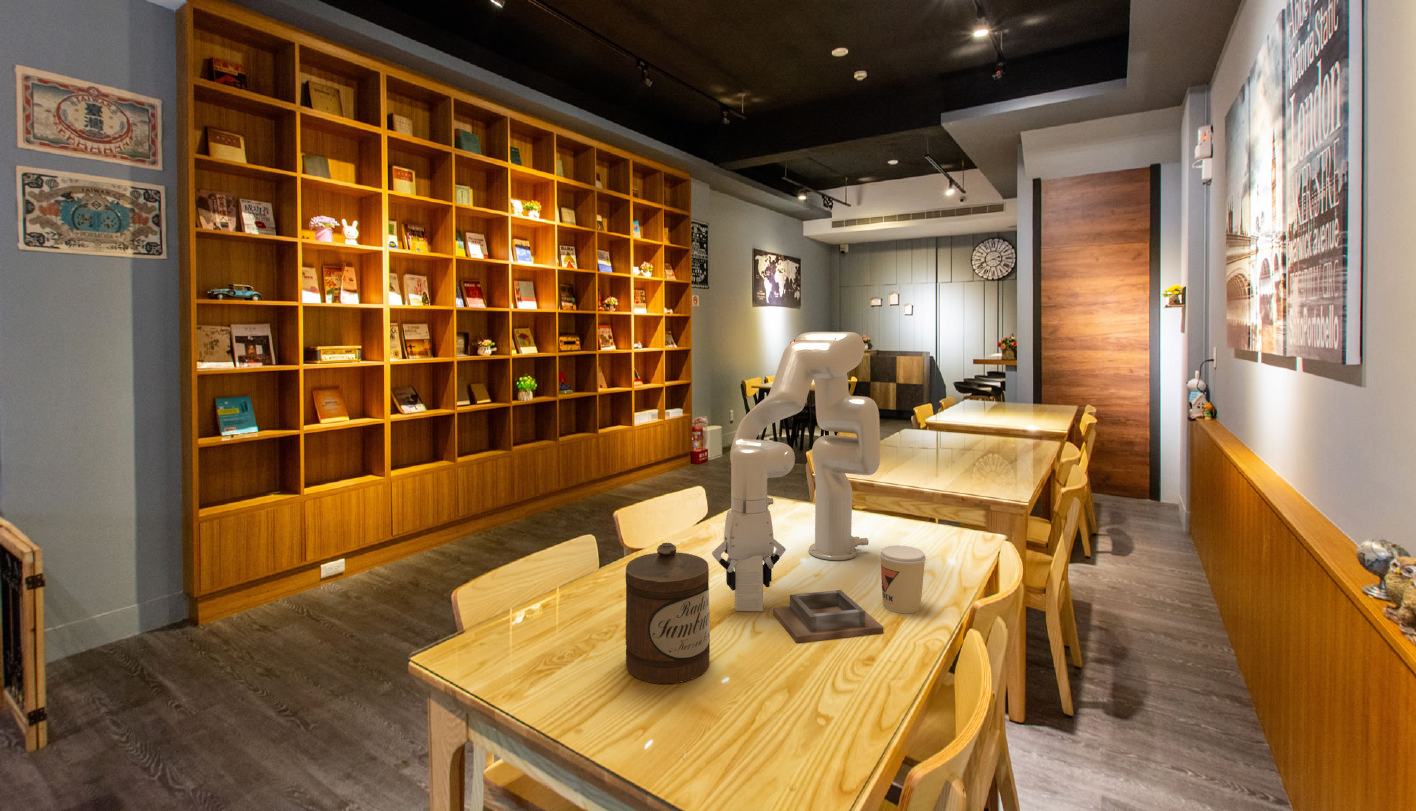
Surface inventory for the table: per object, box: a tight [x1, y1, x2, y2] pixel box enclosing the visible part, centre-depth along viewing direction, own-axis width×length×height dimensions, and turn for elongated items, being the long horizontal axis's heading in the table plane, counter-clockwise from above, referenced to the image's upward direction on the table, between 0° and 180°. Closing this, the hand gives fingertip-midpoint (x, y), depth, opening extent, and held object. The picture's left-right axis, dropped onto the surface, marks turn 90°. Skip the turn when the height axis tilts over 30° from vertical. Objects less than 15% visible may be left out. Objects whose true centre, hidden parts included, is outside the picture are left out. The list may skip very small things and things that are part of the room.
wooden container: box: [625, 542, 711, 684], centre depth 119 cm, size 15×15×22 cm
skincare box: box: [734, 556, 764, 612], centre depth 143 cm, size 6×4×12 cm
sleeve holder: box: [772, 589, 885, 644], centre depth 136 cm, size 18×14×4 cm
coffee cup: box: [879, 545, 927, 614], centre depth 144 cm, size 9×9×12 cm
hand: (748, 585), depth 144 cm, fingers closed on skincare box, 6 cm apart
